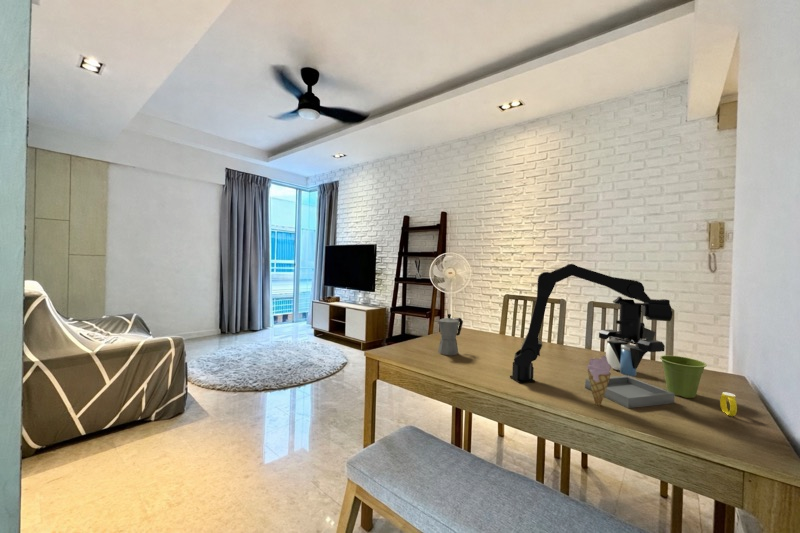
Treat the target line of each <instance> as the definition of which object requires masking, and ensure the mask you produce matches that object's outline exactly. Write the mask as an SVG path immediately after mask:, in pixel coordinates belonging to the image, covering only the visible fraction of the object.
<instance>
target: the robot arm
mask: <svg viewBox="0 0 800 533" xmlns="http://www.w3.org/2000/svg"><path fill="white" fill-rule="evenodd" d="M572 276H573V277H576V278H579V279H582V280H585V281H588V282H591V283H594V284H598V285H601V286H604V287H607V288H608V289H609V290H612V291H614V292H616V293H618V294H621V295H622V296H624V297H628V298H629V299H628V298H623V297H622V296H619V295H618V296H617V298H615V299H614V300H613V301H612V303H613V304H615V305H619V319H617V320H616V324H618V325H619V331H618V330H615V329H601V330H600V331H599V332H598V339H602V340H604V341H605V340H607V344H608V343H609V344H610V346H611V347H612V349H613V351H614V353H615V355H616V357H617V359H618V361H619V363H620V358H621V344H628V343H629V344H631V345H635V348H630V352H631V359H632V365H633V368H634V369H638V367H639V365H640V363H641V362H642V360H643V358H644V356H645V355H646V354H647V353H648V352H649V353H658V352H661V353H662V352H665V348H666V346H665V343H664V342H662V341H659V340H656V339H655V336H656V331H653V330H651V329H650V328H647V327H645V323H644V322H642V316H643V317H645V319H646V320H649V321H661V322H671V321H672V318H673V310H672V306H671V304H670V299H663V298H662V299H651V298H650V296H649V295H648V294H647V293H646V292H645V286H644V285H643V283H642V282H640V281H638V280H634V279H628V278H622V277H616V276H615V277H614V276H610V275H607V274H603V273H600V272H597V271H595V270H591V269H587V268H586V267H585V268H584V267H581V266H578V265H576V264H574V263H569V264H566V265H565V266H563V267H560V268H558V269H555V270H552V271H551V272H549V271H542V272H541V273H540V274H539V275H538V277H537V285H536V286H537V288H536V298H535V303H534V308H533V310H532V314H531V315H532V316H531V319H530V323H529V327H528V331H527V333H526V336H525V337H524V339H523V340H522V341H523V342H522V344H521V347H520V349H519V350H517V351H516V352H515V353H514V356H513V361H512V373H511V374H512V375H509V378H511V379H513V380H514V381H515V382H517V383H519V384H525V383H536V380H535V379H534V372H535V371H534V369H535V368H534V364H533V362H534V361H536V360H537V359H538V357H540V356H541V353H540V352H541V349H542V347H543V342H542V340H539V339H540V338H539V337H540V333H541V328H542V325H543V320H544V316H545V313H546V309H547V305H548V300H549V299H550V296H551V294H552V292H553V290H554V288H555V286H556V283H559V282H560V281H563V280H565V279H568V278H569V277H572ZM634 299H635V300H637V301H639V302H635V301H634Z"/></svg>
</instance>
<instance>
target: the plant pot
mask: <svg viewBox="0 0 800 533" xmlns="http://www.w3.org/2000/svg"><path fill="white" fill-rule="evenodd" d="M659 359H660V361H661V362H662V366H663V372H664V373H663V374H664V378H665V385H666V390H667V391H669V392H672V393H675V395H674V396H680V397H682V398H686V399H693V398H696V396H697V393H698V389H699V384H700V382H701V378H702V374H703V373H704V370H705V368H706V367H707V365H708V364H707V363H705V362H703V361H701V360H699V359H695V358H690V357H685V356H680V355H666V354H664V355H660V356H659Z"/></svg>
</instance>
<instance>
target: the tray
mask: <svg viewBox="0 0 800 533" xmlns="http://www.w3.org/2000/svg"><path fill="white" fill-rule="evenodd" d="M584 380H585V381H584V382H585V384H584V388H585V389H587V390H588V391H591V392H592V390H591V385H590V381H589V378H585V379H584ZM675 396H676V395H675V393H672V392H669V391H667V389H664V388H661V387H659V386H656V385H653V384H651V383H647V382H645V381H642V380H639V379H637V378H635V377H633V376H627V375H620V376H610V379H609V383H608V386H607V389H606V392H605V395H604V397H603V398H604V399H605V398H606V399H607V400H610V401H612V402H614V403H616V404H618V405H620V406H622V407H624V408H626V409H634V408H643V407H651V406H660V405H661V406H662V405H668V404H675Z"/></svg>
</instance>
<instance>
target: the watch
mask: <svg viewBox="0 0 800 533" xmlns="http://www.w3.org/2000/svg"><path fill="white" fill-rule="evenodd" d="M736 397H737V396H736V395H735V394H734V393H732V392H731V393H730V392H726V391H725V392H724V391H723V392H722V393H721V396H720V400H719V404H720V409H721V411H722V412H723V413H724V412H725V413H726V414H727V415H729V416H728V417H733V416H734V417H735V416H736V415H737V412H738V404H737V401H736ZM727 402H729V409H728V405H727ZM725 413H724V414H725ZM726 414H725V415H726ZM727 415H726V416H727Z"/></svg>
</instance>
